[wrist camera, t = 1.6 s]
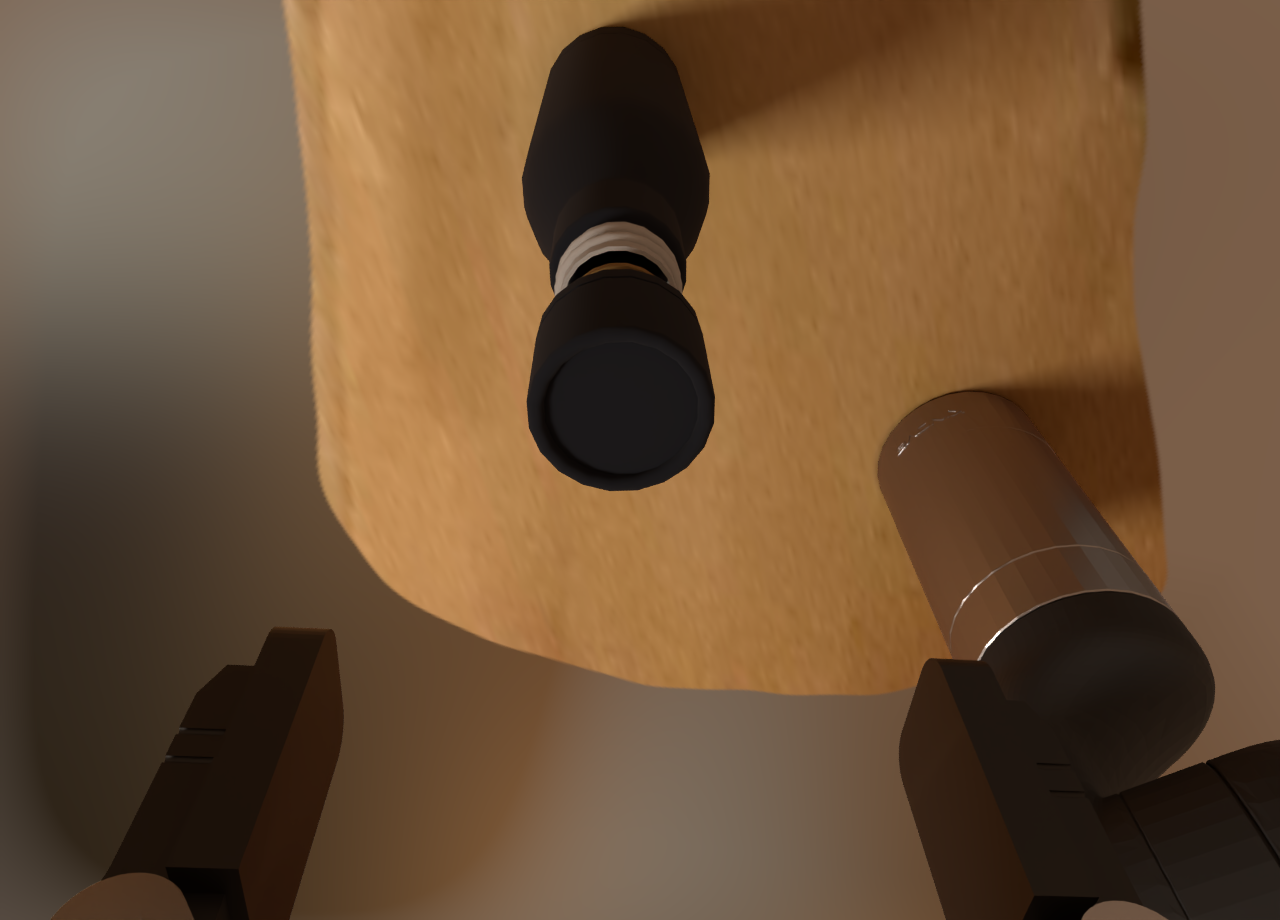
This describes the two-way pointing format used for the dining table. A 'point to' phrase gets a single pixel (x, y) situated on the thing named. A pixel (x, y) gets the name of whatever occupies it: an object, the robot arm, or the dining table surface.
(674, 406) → the black bottle
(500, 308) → the dining table surface
